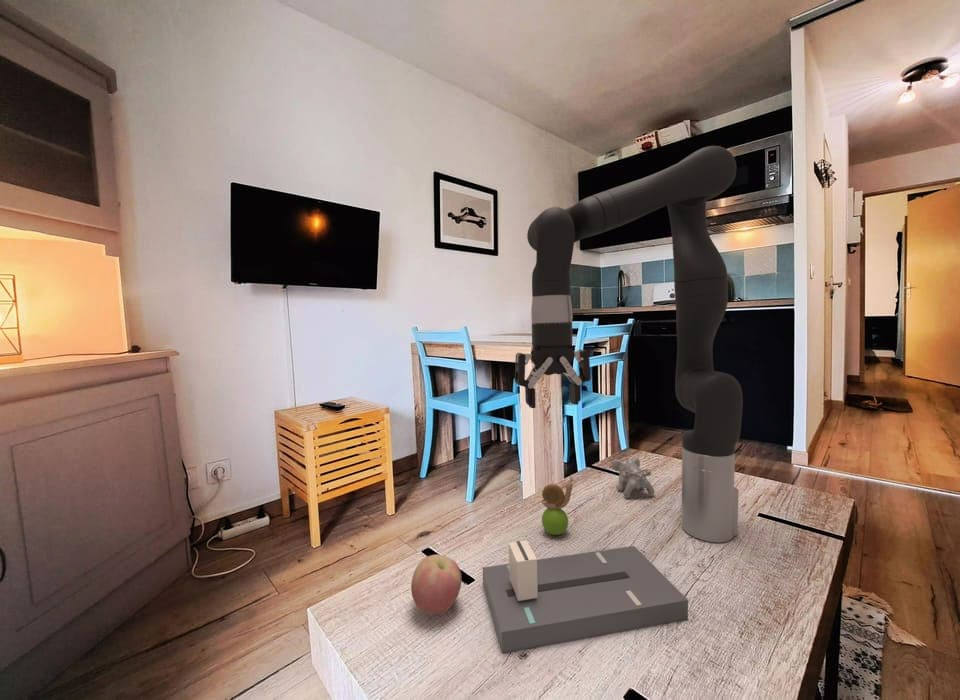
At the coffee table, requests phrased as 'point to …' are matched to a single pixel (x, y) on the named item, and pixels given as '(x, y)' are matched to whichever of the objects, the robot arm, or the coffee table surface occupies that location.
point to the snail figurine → (555, 508)
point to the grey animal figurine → (632, 476)
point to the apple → (436, 584)
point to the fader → (523, 570)
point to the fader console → (582, 599)
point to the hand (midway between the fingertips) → (553, 405)
